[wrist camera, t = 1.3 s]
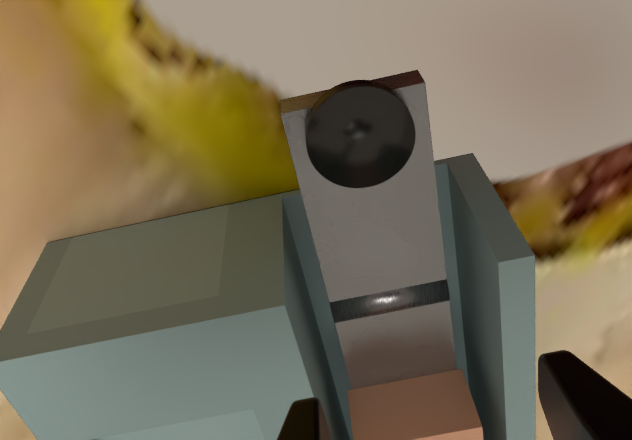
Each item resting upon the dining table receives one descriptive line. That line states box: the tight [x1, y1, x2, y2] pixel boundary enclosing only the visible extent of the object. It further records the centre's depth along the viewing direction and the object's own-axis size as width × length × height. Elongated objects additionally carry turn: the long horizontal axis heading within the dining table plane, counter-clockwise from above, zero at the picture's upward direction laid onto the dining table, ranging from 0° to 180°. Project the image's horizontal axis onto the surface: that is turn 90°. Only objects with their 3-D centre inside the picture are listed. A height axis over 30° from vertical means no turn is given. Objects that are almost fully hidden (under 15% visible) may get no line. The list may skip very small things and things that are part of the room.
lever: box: [280, 70, 457, 390], centre depth 22 cm, size 19×4×2 cm, turn 12°
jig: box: [0, 153, 536, 440], centre depth 24 cm, size 18×16×6 cm
